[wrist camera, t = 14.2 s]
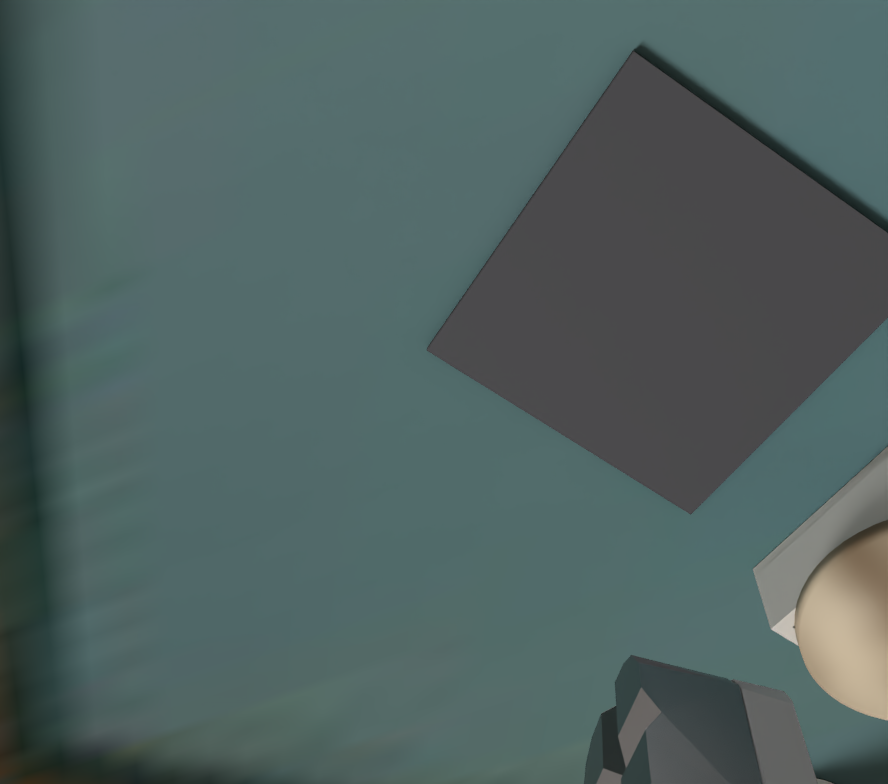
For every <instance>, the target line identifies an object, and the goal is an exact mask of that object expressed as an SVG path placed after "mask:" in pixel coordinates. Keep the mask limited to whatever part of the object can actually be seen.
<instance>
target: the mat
mask: <svg viewBox="0 0 888 784" xmlns="http://www.w3.org/2000/svg"><path fill="white" fill-rule="evenodd" d="M887 318H888V233H887V232H886V231H885V230H883V229H882V228H880V227H879V226H878V225H876V224H875V223H873V222H872V221H871V220H869V219H868V218H866V217H865V216H864V215H862V214H861V213H859V212H858V211H857V210H855V209H854V208H853V207H851V206H850V205H848V204H847V203H846V202H844V201H843V200H841V199H840V198H839V197H837V196H836V195H834V194H833V193H832V192H830V191H829V190H827V189H826V188H825V187H823V186H822V185H820V184H819V183H818V182H816V181H815V180H813V179H812V178H811V177H809V176H808V175H806V174H805V173H804V172H802V171H801V170H799V169H798V168H797V167H795V166H794V165H792V164H791V163H790V162H788V161H787V160H785V159H784V158H783V157H781V156H780V155H778V154H777V153H776V152H774V151H773V150H771V149H770V148H769V147H767V146H766V145H764V144H763V143H762V142H760V141H759V140H757V139H756V138H755V137H753V136H752V135H751V134H749V133H748V132H746V131H745V130H744V129H742V128H741V127H739V126H738V125H737V124H735V123H734V122H732V121H731V120H730V119H728V118H727V117H725V116H724V115H723V114H721V113H720V112H718V111H717V110H716V109H714V108H713V107H711V106H710V105H709V104H707V103H706V102H704V101H703V100H702V99H700V98H699V97H697V96H696V95H695V94H693V93H692V92H690V91H689V90H688V89H686V88H685V87H683V86H682V85H681V84H679V83H678V82H676V81H675V80H674V79H672V78H671V77H669V76H668V75H667V74H665V73H664V72H662V71H661V70H660V69H658V68H657V67H656V66H654V65H653V64H651V63H650V62H649V61H647V60H646V59H644V58H643V57H642V56H640V55H639V54H637V53H636V52H635V51H632V53H631V54H630V56H629V57H628V58H627V60H626V61H625V63H624V64H623V66H622V67H621V69H620V70H619V71H618V73H617V74H616V76H615V77H614V79H613V80H612V82H611V83H610V84H609V86H608V87H607V89H606V90H605V92H604V93H603V95H602V96H601V97H600V99H599V100H598V102H597V103H596V105H595V106H594V108H593V109H592V110H591V112H590V113H589V115H588V116H587V118H586V119H585V121H584V122H583V123H582V125H581V126H580V128H579V129H578V131H577V132H576V134H575V135H574V136H573V138H572V139H571V141H570V142H569V144H568V145H567V147H566V148H565V149H564V151H563V152H562V154H561V155H560V157H559V158H558V160H557V161H556V162H555V164H554V165H553V167H552V168H551V170H550V171H549V173H548V174H547V175H546V177H545V178H544V180H543V181H542V183H541V184H540V186H539V187H538V188H537V190H536V191H535V193H534V194H533V196H532V197H531V199H530V200H529V201H528V203H527V204H526V206H525V207H524V209H523V210H522V212H521V213H520V214H519V216H518V217H517V219H516V220H515V222H514V223H513V225H512V226H511V227H510V229H509V230H508V232H507V233H506V235H505V236H504V238H503V239H502V240H501V242H500V243H499V245H498V246H497V248H496V249H495V251H494V252H493V253H492V255H491V256H490V258H489V259H488V261H487V262H486V264H485V265H484V266H483V268H482V269H481V271H480V272H479V274H478V275H477V277H476V278H475V279H474V281H473V282H472V284H471V285H470V287H469V288H468V290H467V291H466V292H465V294H464V295H463V297H462V298H461V300H460V301H459V303H458V304H457V305H456V307H455V308H454V310H453V311H452V313H451V314H450V316H449V317H448V318H447V320H446V321H445V323H444V324H443V326H442V327H441V329H440V330H439V331H438V333H437V334H436V336H435V337H434V339H433V340H432V342H431V343H430V344H429V346H428V348H427V351H429V352H430V353H432V354H433V355H435V356H437V357H438V358H440V359H442V360H443V361H445V362H446V363H448V364H450V365H451V366H453V367H454V368H456V369H458V370H459V371H461V372H462V373H464V374H466V375H467V376H469V377H470V378H472V379H474V380H475V381H477V382H479V383H480V384H482V385H483V386H485V387H487V388H488V389H490V390H491V391H493V392H495V393H496V394H498V395H499V396H501V397H503V398H504V399H506V400H507V401H509V402H511V403H512V404H514V405H516V406H517V407H519V408H520V409H522V410H524V411H525V412H527V413H528V414H530V415H532V416H533V417H535V418H536V419H538V420H540V421H541V422H543V423H544V424H546V425H548V426H549V427H551V428H553V429H554V430H556V431H557V432H559V433H561V434H562V435H564V436H565V437H567V438H569V439H570V440H572V441H573V442H575V443H577V444H578V445H580V446H582V447H583V448H585V449H586V450H588V451H590V452H591V453H593V454H594V455H596V456H598V457H599V458H601V459H602V460H604V461H606V462H607V463H609V464H610V465H612V466H614V467H615V468H617V469H619V470H620V471H622V472H623V473H625V474H627V475H628V476H630V477H631V478H633V479H635V480H636V481H638V482H639V483H641V484H643V485H644V486H646V487H647V488H649V489H651V490H652V491H654V492H656V493H657V494H659V495H660V496H662V497H664V498H665V499H667V500H668V501H670V502H672V503H673V504H675V505H676V506H678V507H680V508H681V509H683V510H684V511H686V512H688V513H689V514H692V513H693V512H694V511H695V510H696V509H697V508H698V507H699V506H700V505H701V504H702V503H703V502H704V501H705V500H706V499H707V498H708V497H709V496H710V495H711V494H712V493H713V492H714V491H715V490H716V489H717V488H718V487H719V486H720V485H721V484H722V483H723V482H724V481H725V480H726V479H727V478H728V477H729V476H730V475H731V474H732V473H733V472H734V471H735V470H736V469H737V468H738V467H739V466H740V465H741V464H742V463H743V462H744V461H745V460H746V459H747V458H748V457H749V456H750V455H751V454H752V453H753V452H754V451H755V450H756V449H757V448H758V447H759V446H760V445H761V444H762V443H763V442H764V441H765V440H766V439H767V438H768V437H769V436H770V435H771V434H772V433H773V432H774V431H775V430H776V429H777V428H778V427H779V426H780V425H781V424H782V423H783V422H784V421H785V420H786V419H787V418H788V417H789V416H790V415H791V414H792V413H793V412H794V411H795V410H796V409H797V408H798V407H799V406H800V405H801V404H802V403H803V402H804V401H805V400H806V399H807V398H808V397H809V396H810V395H811V394H812V393H813V392H814V391H815V390H816V389H817V388H818V387H819V386H820V385H821V384H822V383H823V382H824V381H825V380H826V379H827V378H828V377H829V376H830V375H831V374H832V373H833V372H834V371H835V370H836V369H837V368H838V367H839V366H840V365H841V364H842V363H843V362H844V361H845V360H846V359H847V358H848V357H849V356H850V355H851V354H852V353H853V352H854V351H855V350H856V349H857V348H858V347H859V346H860V345H861V344H862V343H863V342H864V341H865V340H866V339H867V338H868V337H869V336H870V335H871V334H872V333H873V332H874V331H875V330H876V329H877V328H878V327H879V326H880V325H881V324H882V323H883V322H884V321H885V320H886V319H887Z"/></svg>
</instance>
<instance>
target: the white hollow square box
mask: <svg viewBox="0 0 888 784" xmlns="http://www.w3.org/2000/svg"><path fill="white" fill-rule="evenodd" d="M886 520H888V446H887V447H886V448H885V449H884V450H883V451H882V452H881V453H880V454H879V455H878V456H877V457H875V458H874V459H873V460H872V461H871V462H870V463H869V464H868V465H867V466H866V467H864V468H863V469H862V470H861V471H860V472H859V473H858V474H857V475H856V476H855V477H853V478H852V479H851V480H850V481H849V482H848V483H847V484H846V485H845V486H844V487H842V488H841V489H840V490H839V491H838V492H837V493H836V494H835V495H834V496H833V497H831V498H830V499H829V500H828V501H827V502H826V503H825V504H824V505H823V506H822V507H820V508H819V509H818V510H817V511H816V512H815V513H814V514H813V515H812V516H811V517H810V518H808V519H807V520H806V521H805V522H804V523H803V524H802V525H801V526H800V527H799V528H797V529H796V530H795V531H794V532H793V533H792V534H791V535H790V536H789V537H788V538H786V539H785V540H784V541H783V542H782V543H781V544H780V545H779V546H778V547H777V548H775V549H774V550H773V551H772V552H771V553H770V554H769V555H768V556H767V557H766V558H764V559H763V560H762V561H761V562H760V563H759V564H758V565H757V566H756V567H755V568H753V572H754V575H755V578H756V582H757V585H758V588H759V592H760V595H761V598H762V601H763V605H764V608H765V611H766V615H767V618H768V621H769V625H770V628H771V629H772V630H773V631H775V632H777V633H778V634H780V635H782V636H783V637H785V638H786V639H788V640H790V641H791V642H793V643H795V644H796V645H798V642H797V639H796V633H795V627H794V621H795V610H796V604H797V600H798V598H799V595H800V592H801V590H802V588H803V586H804V584H805V582H806V580H807V579H808V577H809V575H810V574H811V573H812V571H813V570H814V569H815V568H816V566H817V565H818V564H819V563H820V562H821V561H822V560H823V559H824V558H825V557H826V556H827V555H828V554H829V553H830V552H831V551H832V550H834V549H835V548H836V547H837V546H839V545H840V544H841V543H842V542H844V541H845V540H847V539H849V538H850V537H852V536H853V535H855V534H857V533H858V532H860V531H862V530H864V529H867V528H869V527H871V526H873V525H875V524H877V523H880V522H883V521H886ZM798 646H799V645H798Z"/></svg>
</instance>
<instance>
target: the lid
mask: <svg viewBox="0 0 888 784" xmlns="http://www.w3.org/2000/svg"><path fill="white" fill-rule="evenodd" d="M794 627H795V633H796V639H797V642H798V645H799V648H800V651H801V654H802V657H803V659H804V662H805V665H806V667H807V669H808V670H809V672H810V674H811V676H812V677H813V678H814V680H815V681H816V682H817V683H818V684H819V686H820V687H821V688H822V689H824V690H825V691H826V692H827V693H828V694H829V695H830V696H832V697H833V698H835V699H836V700H837V701H839V702H840V703H842V704H844V705H846V706H848V707H850V708H852V709H854V710H856V711H858V712H861V713H863V714H866V715H869V716H872V717H876V718H880V719H884V720H888V520H886V521H883V522H880V523H877V524H875V525H873V526H871V527H869V528H867V529H864V530H862V531H860V532H858V533H857V534H855V535H853V536H852V537H850V538H849V539H847V540H845V541H844V542H842V543H841V544H840V545H839V546H837V547H836V548H835V549H834V550H832V551H831V552H830V553H829V554H828V555H827V556H826V557H825V558H824V559H823V560H822V561H821V562H820V563H819V564H818V565H817V566H816V568H815V569H814V570H813V571H812V573H811V574H810V575H809V577H808V579H807V580H806V582H805V584H804V586H803V588H802V590H801V592H800V595H799V598H798V600H797V604H796V610H795V621H794Z"/></svg>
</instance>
